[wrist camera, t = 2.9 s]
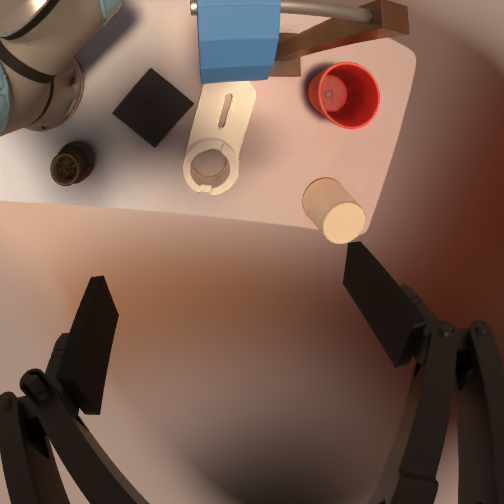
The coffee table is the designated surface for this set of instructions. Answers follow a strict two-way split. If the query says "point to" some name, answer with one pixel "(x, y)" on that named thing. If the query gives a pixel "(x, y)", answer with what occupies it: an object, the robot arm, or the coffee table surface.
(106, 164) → the coffee table surface
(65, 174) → the mate gourd
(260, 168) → the coffee table surface
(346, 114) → the flower pot
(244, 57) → the tape roll
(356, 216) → the beige cylinder
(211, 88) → the bracket
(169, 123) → the mat
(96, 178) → the coffee table surface
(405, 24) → the peg stand
